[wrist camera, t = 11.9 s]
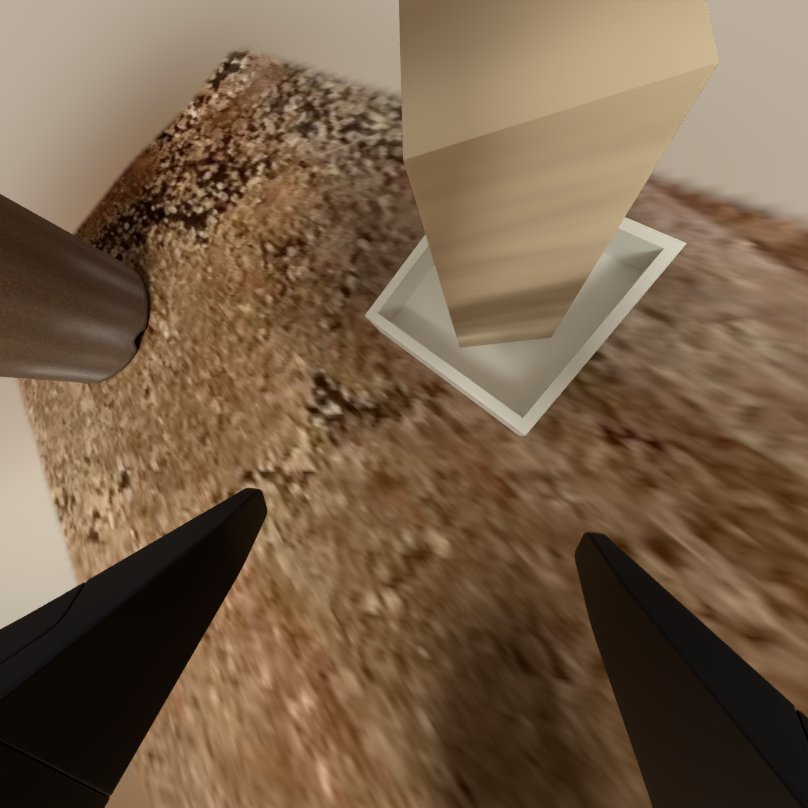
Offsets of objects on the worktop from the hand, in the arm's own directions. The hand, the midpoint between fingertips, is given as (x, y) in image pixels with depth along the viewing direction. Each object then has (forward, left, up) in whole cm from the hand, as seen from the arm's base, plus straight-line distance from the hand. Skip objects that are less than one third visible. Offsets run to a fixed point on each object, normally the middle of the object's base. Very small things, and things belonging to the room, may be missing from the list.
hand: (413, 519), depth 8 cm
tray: (+4, -10, -9) cm, 14 cm away
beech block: (+4, -10, -9) cm, 14 cm away
